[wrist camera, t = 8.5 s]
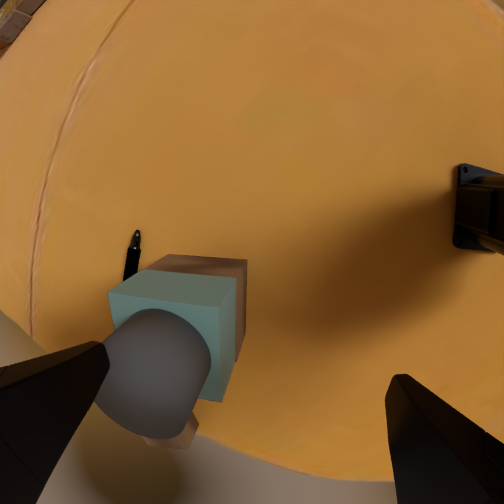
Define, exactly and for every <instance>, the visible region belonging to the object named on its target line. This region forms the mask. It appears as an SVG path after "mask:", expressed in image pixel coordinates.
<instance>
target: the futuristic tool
mask: <svg viewBox="0 0 504 504" xmlns="http://www.w3.org/2000/svg"><path fill="white" fill-rule="evenodd" d="M43 1H44V0H0V48H2V47H4V46H5V45H7V44H9V43H11V42H12V41H14V40H15V39H16V37H17V36H18V35H19V33H20V32H21V31H22V30H23V28H24V27H25V26H26V25H27V23H28V22H29V21H30V20H31V19H32V13H33V12H34V11H35V10H36V9H37V8H38V7H39V6H40V5H41V4H42V3H43Z"/></svg>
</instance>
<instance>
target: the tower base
mask: <svg viewBox="0 0 504 504" xmlns="http://www.w3.org/2000/svg"><path fill="white" fill-rule="evenodd" d="M146 270H156V271H166V272H177V273H187V274H198V275H210V276H222V277H234V278H235V362H237V359H238V356H239V352H240V349H241V346H242V343H243V339H244V336H245V329H246V291H247V260H245V259H230V258H216V257H202V256H188V255H174V254H168V255H167V256H165V257H163V258H162V259H160V260H159V261H157V262H155V263H154V264H152V265H151V266H149V267H148V268H146Z"/></svg>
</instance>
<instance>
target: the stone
mask: <svg viewBox="0 0 504 504" xmlns="http://www.w3.org/2000/svg"><path fill="white" fill-rule="evenodd" d="M102 343H103V344H104V345H105V347H106V351H107V354H108V357H109V361H110V369H109V371H108V373H107V375H106V377H105V379H104V381H103V383H102V385H101V387H100V389H99V391H98V394H97V396H96V398H95V400H94V402H95V403H96V404H97V405H98V407H99V408H100V409H101V410H102V411H103V412H104V413H105V414H106V415H107V416H109V417H110V418H111V419H112V420H113V421H115V422H116V423H118V424H119V425H121V426H122V427H124V428H126V429H127V430H129V431H131V432H134V433H136V434H138V435H141V436H144V437H148V438H153V439H170V438H174V437H176V436H178V435H179V434H180V433H181V432H182V431H183V430H184V428H185V425H186V423H187V421H188V419H189V416H190V414H191V412H192V410H193V408H194V405H195V403H196V401H197V399H198V396H199V394H200V392H201V390H202V387H203V385H204V383H205V381H206V378H207V376H208V374H209V371H210V368H211V354H210V351H209V348H208V346H207V343H206V342H205V340H204V338H203V337H202V335H201V334H200V333H199V332H198V331H197V329H196V328H195V327H194V326H192V325H191V324H190V323H189V322H188V321H186V320H185V319H183V318H182V317H180V316H178V315H176V314H174V313H172V312H169V311H166V310H162V309H155V308H151V309H144V310H141V311H138V312H136V313H135V314H133V315H132V316H131V317H130V318H129V319H128V320H127V321H125V322H124V323H123V324H122V325H121V326H120V327H119V328H118V329H116V330H115V331H114V332H113V333H112V334H111V335H110V336H109V337H107V338H106V339H105V340H104V341H103V342H102Z"/></svg>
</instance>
